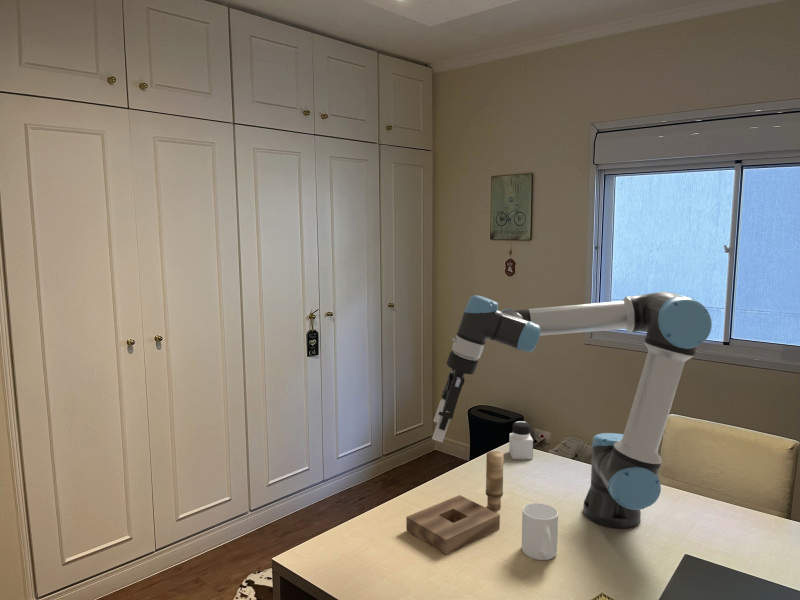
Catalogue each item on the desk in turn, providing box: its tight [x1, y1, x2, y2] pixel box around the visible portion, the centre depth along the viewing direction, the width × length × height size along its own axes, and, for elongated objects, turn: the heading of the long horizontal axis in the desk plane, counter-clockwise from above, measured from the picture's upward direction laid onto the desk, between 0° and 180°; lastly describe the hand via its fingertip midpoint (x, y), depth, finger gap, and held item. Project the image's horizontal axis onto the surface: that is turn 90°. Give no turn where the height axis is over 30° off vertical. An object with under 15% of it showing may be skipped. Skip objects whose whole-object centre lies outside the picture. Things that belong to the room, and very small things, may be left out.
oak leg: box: [485, 450, 505, 512], centre depth 167 cm, size 5×5×16 cm
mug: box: [521, 502, 559, 561], centre depth 142 cm, size 9×12×11 cm
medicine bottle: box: [508, 420, 534, 460], centre depth 206 cm, size 7×7×12 cm
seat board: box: [405, 494, 501, 556], centre depth 155 cm, size 15×20×4 cm
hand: (437, 431), depth 151 cm, fingers open, 13 cm apart
